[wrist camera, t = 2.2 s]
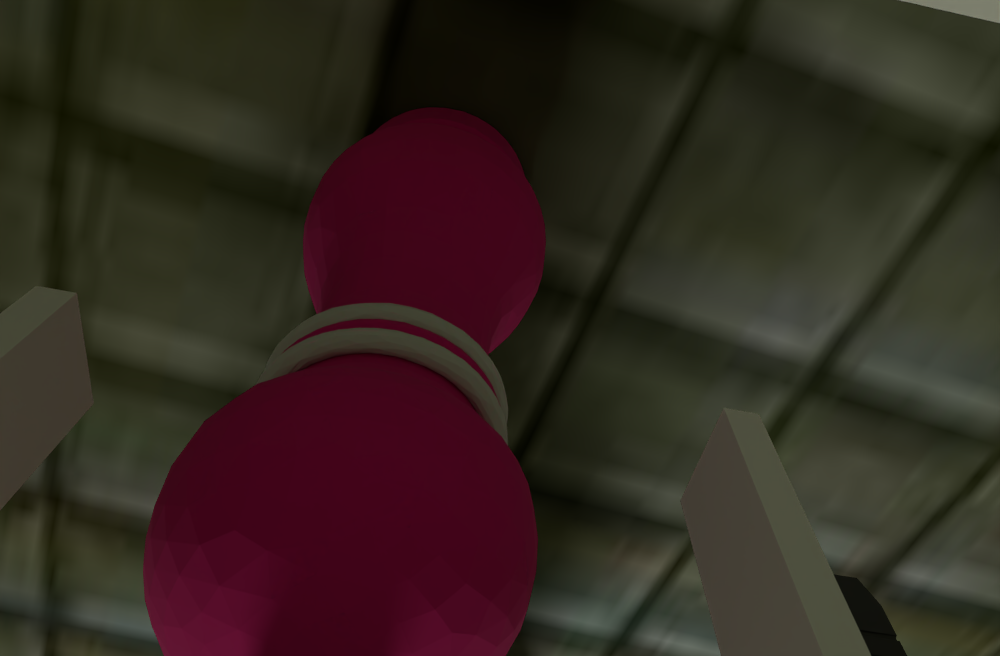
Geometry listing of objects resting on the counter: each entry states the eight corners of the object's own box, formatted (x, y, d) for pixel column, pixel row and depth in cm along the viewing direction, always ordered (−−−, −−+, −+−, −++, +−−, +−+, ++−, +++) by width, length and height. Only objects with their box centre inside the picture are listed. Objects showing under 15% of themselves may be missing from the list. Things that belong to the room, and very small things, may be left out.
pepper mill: (388, 48, 22) (-44, 536, 5) (579, 155, 24) (751, 789, 7) (310, 231, 25) (-107, 895, 8) (482, 312, 27) (431, 1001, 10)
